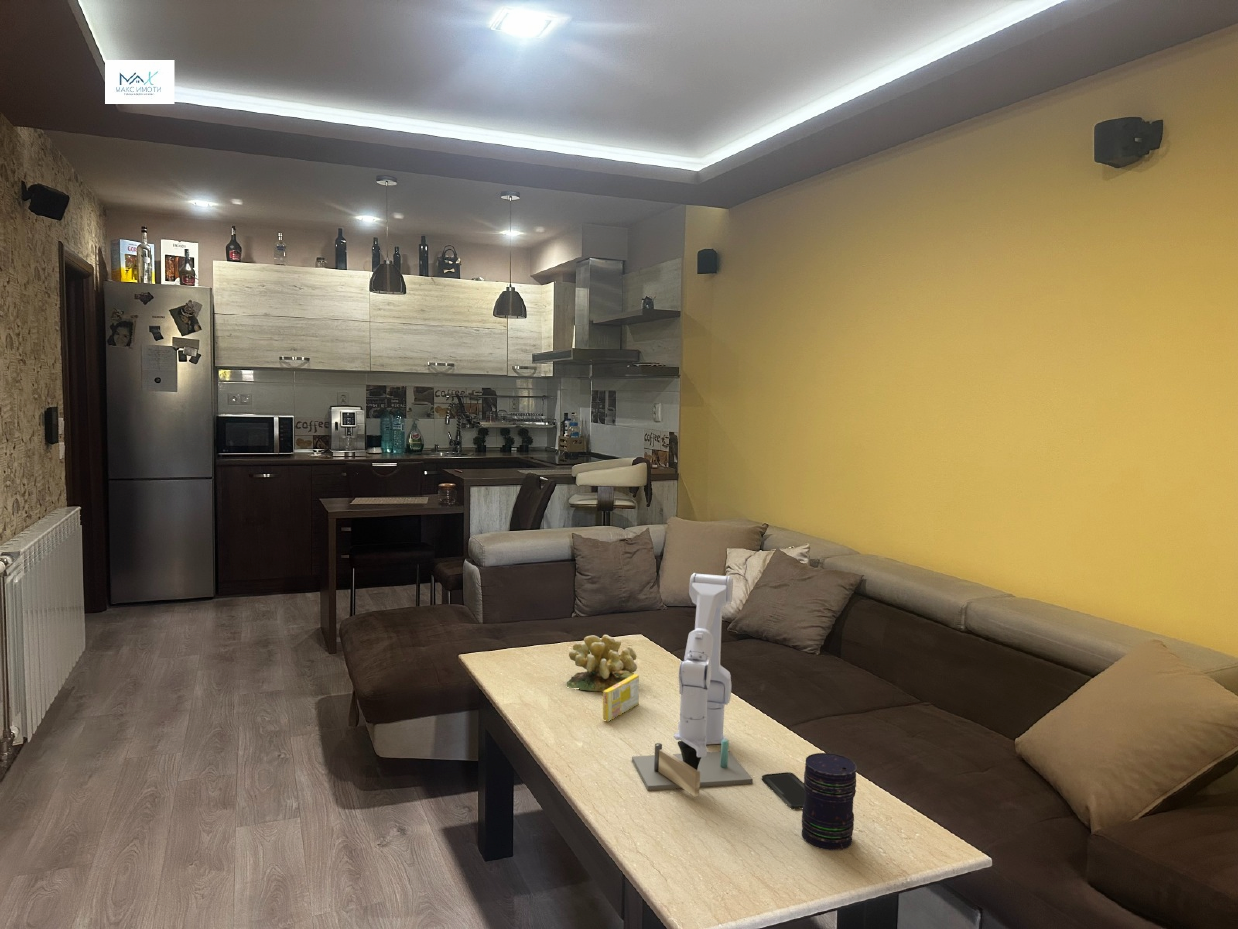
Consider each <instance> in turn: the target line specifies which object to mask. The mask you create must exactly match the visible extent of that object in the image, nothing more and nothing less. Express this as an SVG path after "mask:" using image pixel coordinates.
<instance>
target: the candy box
mask: <svg viewBox="0 0 1238 929" xmlns="http://www.w3.org/2000/svg"><path fill="white" fill-rule="evenodd" d="M639 676H640V675H639V674H635V673H634V675H632V676H630V677H628V678H626V679H625V680H623V681H621V682H619V683H617V684H616V685H614V686H612V687H610V688H608V689H606V690H604V691H602V693H603V694H602V720H603V719H604V720H606V721H610V720H611V719H613V720H615V719H616V718H618V717H619V716H618V715H620V716H621V715H623V714H625V713H626V712H628V711H630V710H631V709H633V708H634V706H635V707H636V706H638V705H640V686H639V685H640V677H639ZM630 708H631V709H630ZM629 709H630V710H629ZM624 712H625V713H624ZM622 713H623V714H622ZM617 716H618V717H617ZM615 717H616V718H615ZM614 718H615V719H614ZM611 721H612V720H611ZM611 721H610V722H611Z"/></svg>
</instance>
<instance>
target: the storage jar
mask: <svg viewBox="0 0 1238 929" xmlns="http://www.w3.org/2000/svg"><path fill="white" fill-rule="evenodd" d="M803 774H804V775H803V783H804V789H805V802H804V805H803V809H801V811H802V813H801V828H802V829H801V837H802V839H803V840H804V841H805V842H806V843H808V845H810V846H813V847H814V848H816V849H820V850H825V851H830V852H831V851H834V852H835V851H837V852H838V851H844V850H846V849H848V848H850V847H851V845H853V832H854V829H855V828H854V826H855V823H854V822H855V813H854V799H855V796H856V792H857V791H856V787H857V764H856V763H855V762H854V761H853V760H851V759H850V758H848V757H846V756H844V755H840V754H836V753H829V752H816V753H812V754H809V755H808V756H806V758H805V766H804V772H803ZM843 849H844V850H843Z"/></svg>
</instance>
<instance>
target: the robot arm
mask: <svg viewBox="0 0 1238 929" xmlns="http://www.w3.org/2000/svg"><path fill="white" fill-rule="evenodd" d="M688 586H689V587H688V590H689V591H688V592H689V593H688V594H689V597H690V598H691V602H692V603H693V604H694V605H696V609H695V619H694V621H695V623H694V629H693V630H691V631H690V632H689V633H688V636H687V642H686V647H685V651H684V652H685V653H684V657H683V660H681V661H680V664H679V667H678V685H679V695H680V703H679V704H680V706H679V721H678V728H677V729H678V731H677V733H673V738H674V739H675V740H676V741H678V742H677V746H678V747H679V750H680V754H682V758H683V762H685V763H686V764H688V765H690V766H691V767H693V768H694V769H696V770H697V769H698V765H699V762H700V760H701V757H707V752H708V747H707V745H721V742H722V740H728V739H727V737H725V735H724V724H725V723H724V721H725V706H727V705H728V704H729V703H730V701H731V696H732V695H731V694H732V681H731V680H732V679H731V678H732V675H731V672H730V671H729V670H728V669H726V668H725V667H723V665H721V649H722V624H723V623H722V620H723V608H724V607H725V606H726V605H730V604H732V602H733V587H734V581H733V578H732V576H731V575H719V574H718V575H716V574H707V573H697V572H693V574H691V575H690V578H689V585H688Z"/></svg>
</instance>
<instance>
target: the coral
mask: <svg viewBox="0 0 1238 929" xmlns="http://www.w3.org/2000/svg"><path fill="white" fill-rule="evenodd" d="M621 646H622V641H621V640H619V639H615V638H614V637H613V636H609V635H608V634H603V635H602V637H601V638H600V637H599V636H597V635H595V634H594V635H587V636H585V637H584V638H583V642H582V643H580V642H579V641H578V642H577V641H576V642H574V643H573V645H572V649H570V650H569V651H568V657H569V660H571V661H572V662H574V663H575V664H574V665H575V666H577V667H578V668H579V667H580V668H583V669H584V670H586V671H581V672H577V673H574V675H573V676H571V677H570V679H569V680H568V681H567V682H566V686H567V687H569V688H579V689H580V691H581V690H582V691H590V692H591V691H592V692H603V691H604V690H606V689H608V688H610V687H612V686H614V685H616V684H617V683H619V682H621V681H623V680H625V679H626V678H628V677H630V676H632V675H634V674H635V672H636V671H637V669H638V666H637V663H635V662H634V661H636V660H637V657H638V656H637V654H636V652H635V650H634V648H633V647H632V646H630V645H629V646H626V647H625V648H623V649H622V651H621V653H620V654H619V649H620V648H621ZM567 687H566V688H567ZM569 688H568V689H569Z"/></svg>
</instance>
